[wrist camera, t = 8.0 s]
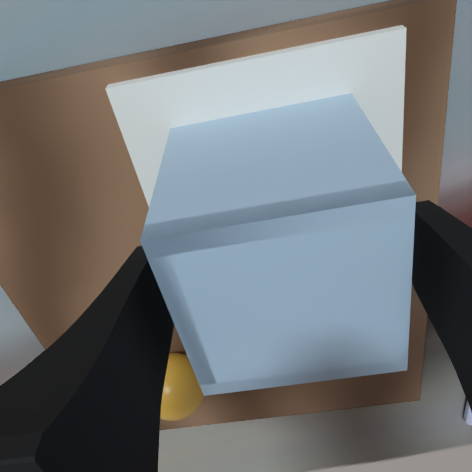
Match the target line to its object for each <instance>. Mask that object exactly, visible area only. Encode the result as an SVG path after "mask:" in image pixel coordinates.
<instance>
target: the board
mask: <svg viewBox="0 0 472 472" xmlns="http://www.w3.org/2000/svg"><path fill="white" fill-rule="evenodd" d="M456 3H457V0H391V1H386V2H381V3H376V4H371V5H367V6H362V7H357V8H352V9H347V10H343V11H338V12H333V13H328V14H323V15H319V16H314V17H309V18H304V19H299V20H295V21H290V22H285V23H280V24H275V25H271V26H266V27H261V28H256V29H251V30H247V31H242V32H237V33H232V34H227V35H223V36H218V37H213V38H208V39H203V40H199V41H194V42H189V43H184V44H179V45H175V46H170V47H165V48H160V49H155V50H151V51H146V52H141V53H136V54H131V55H127V56H122V57H117V58H112V59H107V60H103V61H98V62H93V63H88V64H83V65H79V66H74V67H69V68H64V69H59V70H55V71H50V72H45V73H40V74H36V75H31V76H26V77H21V78H16V79H12V80H7V81H2V82H0V285H1V287H2V288H3V290H4V291H5V292H6V294H7V295H8V297H9V298H10V300H11V301H12V303H13V304H14V305H15V307H16V308H17V310H18V311H19V313H20V314H21V316H22V317H23V318H24V320H25V321H26V323H27V324H28V326H29V327H30V329H31V330H32V331H33V333H34V334H35V336H36V337H37V339H38V340H39V342H40V343H41V344H42V346H43V347H44V349H45V350H46V349H47V348H48V347H50V346H51V345H52V344H53V343H54V342H55V341H56V340H57V339H58V338H59V337H60V336H61V335H62V334H63V333H64V332H65V331H67V330H68V328H69V327H70V326H71V325H72V324H73V323H74V322H75V321H76V320H77V319H78V318H79V317H80V316H81V315H82V314H83V313H84V311H85V310H86V309H87V308H88V307H89V306H90V305H91V303H92V302H93V301H94V300H95V299H96V298H97V297H98V295H99V294H100V293H101V292H102V291H103V289H104V288H105V287H106V286H107V284H108V283H109V282H110V281H111V279H112V278H113V277H114V275H115V274H116V273H117V272H118V270H119V269H120V268H121V266H122V265H123V264H124V262H125V261H126V260H127V259H128V257H129V256H130V255H131V253H132V252H133V251H134V250H135V248H136V247H137V246H142V245H141V242H140V240H141V236H142V232H143V228H144V225H145V221H146V217H147V213H148V210H149V206H148V204H147V201H146V198H145V195H144V193H143V190H142V187H141V185H140V182H139V179H138V176H137V174H136V171H135V168H134V166H133V163H132V160H131V157H130V155H129V152H128V149H127V146H126V144H125V141H124V138H123V136H122V133H121V130H120V127H119V125H118V122H117V119H116V117H115V114H114V111H113V108H112V106H111V103H110V100H109V98H108V95H107V92H106V89H105V88H106V87H107V85H108V84H113V83H118V82H122V81H127V80H132V79H137V78H142V77H147V76H152V75H157V74H162V73H167V72H172V71H177V70H182V69H187V68H192V67H197V66H202V65H207V64H211V63H216V62H221V61H226V60H231V59H236V58H241V57H246V56H251V55H256V54H261V53H266V52H271V51H276V50H281V49H286V48H291V47H296V46H300V45H305V44H310V43H315V42H320V41H325V40H330V39H335V38H340V37H345V36H350V35H355V34H360V33H365V32H370V31H375V30H380V29H385V28H389V27H394V26H399V25H403V26H404V27H406V28H407V30H406V60H405V89H404V119H403V149H402V174H403V175H404V177H405V178H406V180H407V181H408V183H409V185H410V186H411V188H412V189H413V191H414V192H415V194H416V202H419V201H426V200H430V201H431V202H433V203H434V204H436V205H438V197H439V186H440V176H441V165H442V154H443V143H444V133H445V122H446V111H447V100H448V90H449V79H450V68H451V57H452V46H453V36H454V25H455V14H456ZM427 316H428V315H427V313H426V311H425V309H424V307H423V305H422V303H421V301H420V299H419V297H418V295H417V293H416V291H415V289H414V287H413V284H412V286H411V306H410V326H409V346H408V366H407V370H406V371H398V372H391V373H383V374H375V375H367V376H359V377H351V378H343V379H335V380H327V381H319V382H311V383H303V384H295V385H287V386H279V387H271V388H263V389H255V390H247V391H239V392H231V393H223V394H215V395H207V396H204V398H203V400H202V403H201V404H200V406H199V407H198V408H197V410H196V411H195V412H194V413H192V414H191V415H190V416H188V417H186V418H184V419H181V420H176V421H168V420H163V419H160V430H166V429H175V428H183V427H192V426H201V425H209V424H218V423H227V422H235V421H244V420H253V419H262V418H270V417H279V416H288V415H296V414H305V413H314V412H322V411H331V410H340V409H349V408H357V407H366V406H375V405H383V404H392V403H401V402H409V401H418V400H420V391H421V380H422V370H423V359H424V348H425V337H426V327H427ZM170 353H181V354H185V355H187V354H186V351H185V349H184V347H183V344H182V342H181V339H180V337H179V334H178V332H177V330H176V327H175V325H174V329H173V335H172V341H171V347H170Z"/></svg>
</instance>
